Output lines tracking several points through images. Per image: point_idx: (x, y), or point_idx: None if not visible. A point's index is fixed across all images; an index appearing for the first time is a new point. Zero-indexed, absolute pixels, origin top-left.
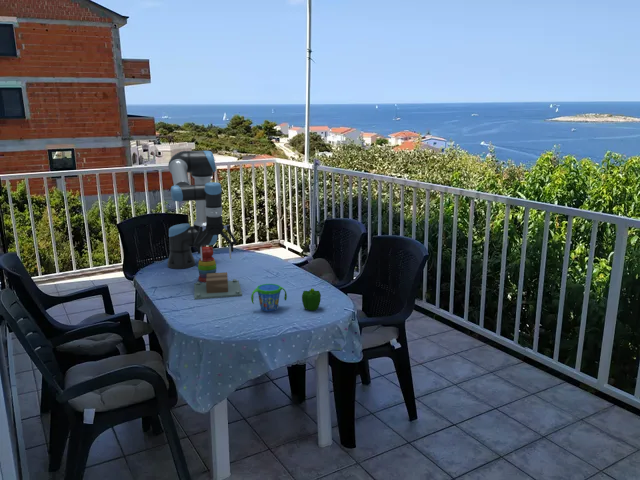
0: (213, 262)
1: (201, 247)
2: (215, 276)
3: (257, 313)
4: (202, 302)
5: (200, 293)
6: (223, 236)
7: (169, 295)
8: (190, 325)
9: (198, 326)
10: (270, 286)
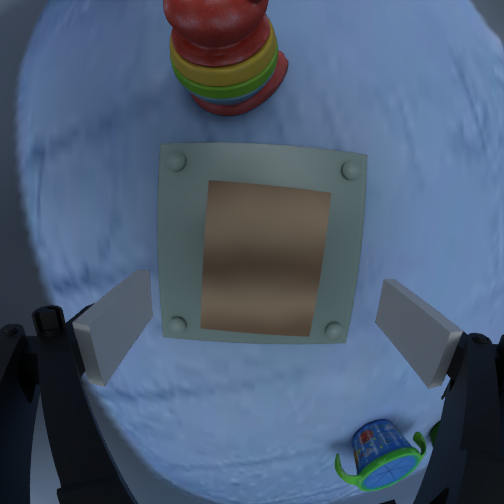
0: (261, 63)
1: (102, 385)
2: (254, 258)
3: (336, 450)
4: (195, 365)
5: (183, 325)
6: (427, 489)
7: (79, 258)
8: (178, 468)
9: (196, 475)
10: (401, 460)
